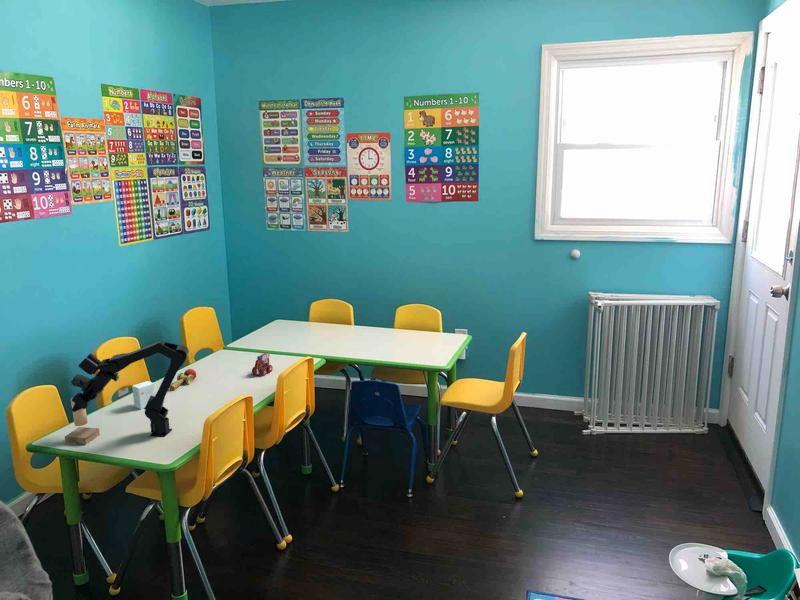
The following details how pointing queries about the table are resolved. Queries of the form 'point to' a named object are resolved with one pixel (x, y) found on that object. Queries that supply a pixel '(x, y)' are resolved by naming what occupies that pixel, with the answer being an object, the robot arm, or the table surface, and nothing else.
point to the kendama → (184, 378)
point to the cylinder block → (79, 416)
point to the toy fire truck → (262, 365)
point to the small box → (143, 393)
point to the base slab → (82, 435)
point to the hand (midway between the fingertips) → (75, 408)
